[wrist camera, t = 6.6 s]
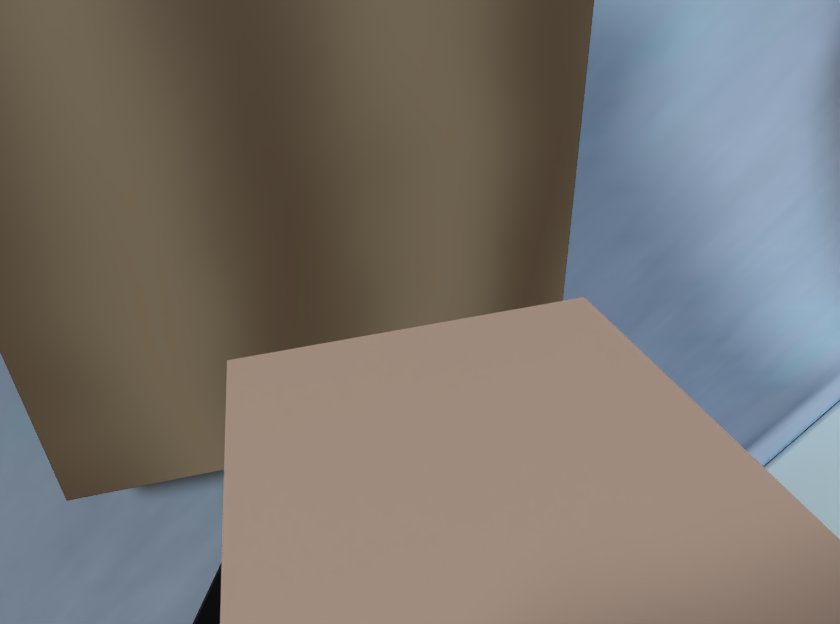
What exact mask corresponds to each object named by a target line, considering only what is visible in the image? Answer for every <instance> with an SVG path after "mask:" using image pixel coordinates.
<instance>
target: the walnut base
mask: <svg viewBox="0 0 840 624" xmlns="http://www.w3.org/2000/svg"><path fill="white" fill-rule="evenodd" d="M593 6H594V0H0V353H1V355H2V357H3V359H4V362H5V364H6V366H7V368H8V371H9V373H10V375H11V377H12V380H13V382H14V384H15V386H16V388H17V391H18V393H19V395H20V397H21V400H22V402H23V404H24V406H25V409H26V411H27V413H28V415H29V417H30V420H31V422H32V424H33V426H34V429H35V431H36V433H37V435H38V438H39V440H40V442H41V444H42V446H43V449H44V451H45V453H46V455H47V458H48V460H49V462H50V464H51V467H52V469H53V471H54V473H55V475H56V478H57V480H58V482H59V484H60V487H61V489H62V491H63V493H64V496H65V498H66V500H67V501H68V500H73V499H78V498H83V497H88V496H93V495H98V494H103V493H108V492H113V491H118V490H123V489H128V488H134V487H139V486H144V485H149V484H154V483H159V482H164V481H169V480H174V479H179V478H184V477H189V476H194V475H199V474H205V473H210V472H215V471H220V470H224V454H225V416H226V378H227V360H232V359H237V358H243V357H249V356H254V355H260V354H266V353H271V352H277V351H283V350H288V349H294V348H299V347H305V346H311V345H316V344H322V343H328V342H333V341H339V340H345V339H350V338H356V337H362V336H367V335H373V334H378V333H384V332H390V331H395V330H401V329H407V328H412V327H418V326H424V325H429V324H435V323H441V322H446V321H452V320H457V319H463V318H469V317H474V316H480V315H486V314H491V313H497V312H503V311H508V310H514V309H520V308H525V307H531V306H536V305H542V304H548V303H553V302H559V301H563V293H564V283H565V274H566V264H567V255H568V245H569V235H570V226H571V216H572V207H573V197H574V188H575V178H576V169H577V159H578V149H579V140H580V130H581V121H582V111H583V102H584V92H585V83H586V73H587V63H588V54H589V44H590V35H591V25H592V16H593Z"/></svg>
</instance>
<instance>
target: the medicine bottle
mask: <svg viewBox="0 0 840 624" xmlns="http://www.w3.org/2000/svg"><path fill="white" fill-rule="evenodd" d="M764 468H765V469H766V470H767V471H768V472H769V473H770V474H771V475H772V476H773V477H774V478H775V479H777V480H778V481H779V482H780V483H781V484H782V485H783V486H784V487H785V488H786V489H787V490H788V491H789V492H790V493H791V494H792V495H793V496H794V497H795V498H797V499H798V500H799V501H800V502H801V503H802V504H803V505H804V506H805V507H806V508H807V509H808V510H809V511H810V512H811V513H812V514H813V515H814V516H816V517H817V518H818V519H819V520H820V521H821V522H822V523H823V524H824V525H825V526H826V527H827V528H828V529H829V530H830V531H831V532H832V533H833V534H834V535H836V536H837V537H838V538H839V539H840V401H839V402H838V403H837V404H836V405H834V406H833V407H832V408H831V409H830V410H829V411H827V412H826V413H825V414H824V415H823V416H822V417H821V418H819V419H818V420H817V421H816V422H815V423H814V424H813V425H811V426H810V427H809V428H808V429H807V430H806V431H805V432H803V433H802V434H801V435H800V436H799V437H798V438H796V439H795V440H794V441H793V442H792V443H791V444H790V445H788V446H787V447H786V448H785V449H784V450H783V451H782V452H780V453H779V454H778V455H777V456H776V457H775V458H774V459H772V460H771V461H770V462H769V463H768V464H767V465H766V466H764Z"/></svg>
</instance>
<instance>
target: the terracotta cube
mask: <svg viewBox="0 0 840 624" xmlns="http://www.w3.org/2000/svg"><path fill="white" fill-rule="evenodd" d="M220 624H840V539H839V538H838V537H837V536H836V535H834V534H833V533H832V532H831V531H830V530H829V529H828V528H827V527H826V526H825V525H824V524H823V523H822V522H821V521H820V520H819V519H818V518H817V517H816V516H814V515H813V514H812V513H811V512H810V511H809V510H808V509H807V508H806V507H805V506H804V505H803V504H802V503H801V502H800V501H799V500H798V499H797V498H795V497H794V496H793V495H792V494H791V493H790V492H789V491H788V490H787V489H786V488H785V487H784V486H783V485H782V484H781V483H780V482H779V481H778V480H777V479H775V478H774V477H773V476H772V475H771V474H770V473H769V472H768V471H767V470H766V469H765V468H764V467H763V466H762V465H761V464H760V463H759V462H758V461H756V460H755V459H754V458H753V457H752V456H751V455H750V454H749V453H748V452H747V451H746V450H745V449H744V448H743V447H742V446H741V445H740V444H739V443H738V442H736V441H735V440H734V439H733V438H732V437H731V436H730V435H729V434H728V433H727V432H726V431H725V430H724V429H723V428H722V427H721V426H720V425H719V424H718V423H716V422H715V421H714V420H713V419H712V418H711V417H710V416H709V415H708V414H707V413H706V412H705V411H704V410H703V409H702V408H701V407H700V406H699V405H697V404H696V403H695V402H694V401H693V400H692V399H691V398H690V397H689V396H688V395H687V394H686V393H685V392H684V391H683V390H682V389H681V388H680V387H679V386H677V385H676V384H675V383H674V382H673V381H672V380H671V379H670V378H669V377H668V376H667V375H666V374H665V373H664V372H663V371H662V370H661V369H660V368H659V367H657V366H656V365H655V364H654V363H653V362H652V361H651V360H650V359H649V358H648V357H647V356H646V355H645V354H644V353H643V352H642V351H641V350H640V349H638V348H637V347H636V346H635V345H634V344H633V343H632V342H631V341H630V340H629V339H628V338H627V337H626V336H625V335H624V334H623V333H622V332H621V331H620V330H618V329H617V328H616V327H615V326H614V325H613V324H612V323H611V322H610V321H609V320H608V319H607V318H606V317H605V316H604V315H603V314H602V313H601V312H599V311H598V310H597V309H596V308H595V307H594V306H593V305H592V304H591V303H590V302H589V301H588V300H587V299H586V298H585V297H582V298H576V299H570V300H565V301H559V302H553V303H548V304H542V305H536V306H531V307H525V308H520V309H514V310H508V311H503V312H497V313H491V314H486V315H480V316H474V317H469V318H463V319H457V320H452V321H446V322H441V323H435V324H429V325H424V326H418V327H412V328H407V329H401V330H395V331H390V332H384V333H378V334H373V335H367V336H362V337H356V338H350V339H345V340H339V341H333V342H328V343H322V344H316V345H311V346H305V347H299V348H294V349H288V350H283V351H277V352H271V353H266V354H260V355H254V356H249V357H243V358H237V359H232V360H227V378H226V416H225V454H224V492H223V530H222V568H221V606H220Z"/></svg>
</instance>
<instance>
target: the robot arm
mask: <svg viewBox="0 0 840 624" xmlns="http://www.w3.org/2000/svg"><path fill="white" fill-rule="evenodd" d="M221 568H222V562H221V564H220V567H219V569H218V571H217V573H216V575H215V577H214V579H213V581H212V584H211V586H210V588H209V590H208V592H207V594H206V596H205V598H204V601H203V603H202V605H201V607H200V609H199V611H198V613H197V615H196V618H195V620H194V622H193V624H220V606H221Z"/></svg>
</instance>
